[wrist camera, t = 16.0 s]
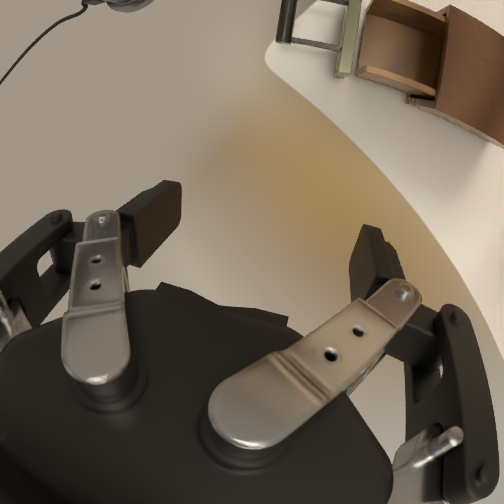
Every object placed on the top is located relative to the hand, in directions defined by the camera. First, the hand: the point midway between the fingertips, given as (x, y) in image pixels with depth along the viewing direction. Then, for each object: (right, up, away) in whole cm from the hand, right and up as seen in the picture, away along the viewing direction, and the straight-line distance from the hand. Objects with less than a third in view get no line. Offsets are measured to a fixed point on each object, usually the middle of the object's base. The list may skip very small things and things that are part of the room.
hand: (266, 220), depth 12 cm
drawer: (+14, +24, +14) cm, 31 cm away
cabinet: (+28, +22, +13) cm, 37 cm away
